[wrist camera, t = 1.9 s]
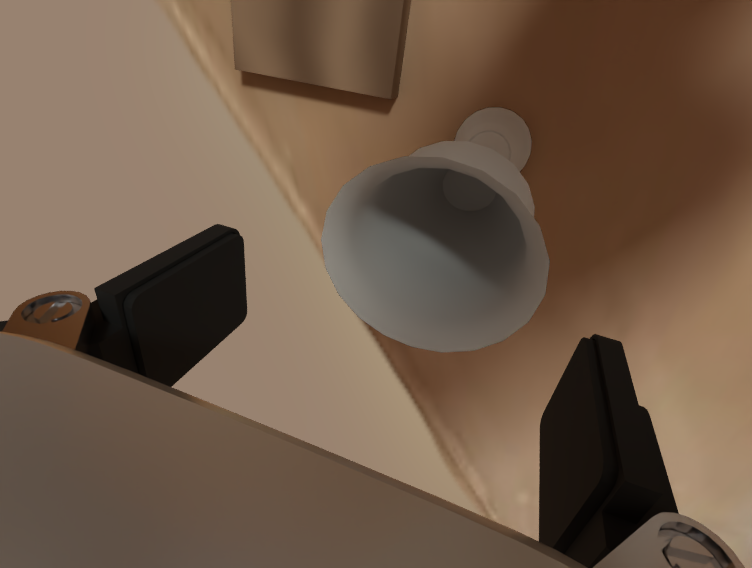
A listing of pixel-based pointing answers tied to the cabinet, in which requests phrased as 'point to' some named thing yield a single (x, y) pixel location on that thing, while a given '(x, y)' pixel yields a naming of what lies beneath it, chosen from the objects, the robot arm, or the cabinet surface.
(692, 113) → the cabinet surface
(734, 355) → the cabinet surface
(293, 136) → the cabinet surface
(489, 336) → the chalice
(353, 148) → the cabinet surface
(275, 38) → the walnut board
